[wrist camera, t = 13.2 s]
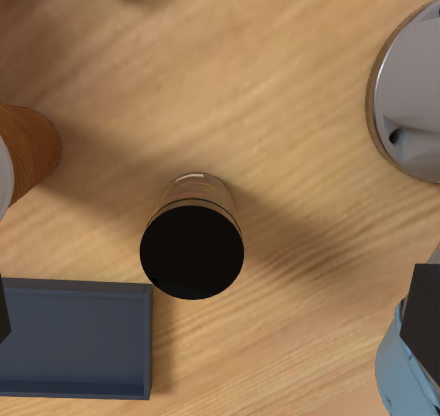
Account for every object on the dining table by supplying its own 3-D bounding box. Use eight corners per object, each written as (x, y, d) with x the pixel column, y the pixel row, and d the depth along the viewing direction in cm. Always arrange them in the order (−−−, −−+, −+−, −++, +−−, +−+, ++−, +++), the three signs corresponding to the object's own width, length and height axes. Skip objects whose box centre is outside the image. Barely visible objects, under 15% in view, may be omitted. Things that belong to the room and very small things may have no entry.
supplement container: (176, 247, 33) (161, 312, 23) (150, 183, 31) (122, 224, 21) (242, 226, 32) (257, 283, 22) (220, 160, 30) (226, 190, 20)
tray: (152, 283, 34) (149, 294, 32) (152, 386, 38) (149, 400, 36) (-65, 274, 33) (-81, 284, 31) (-42, 380, 37) (-55, 395, 35)
